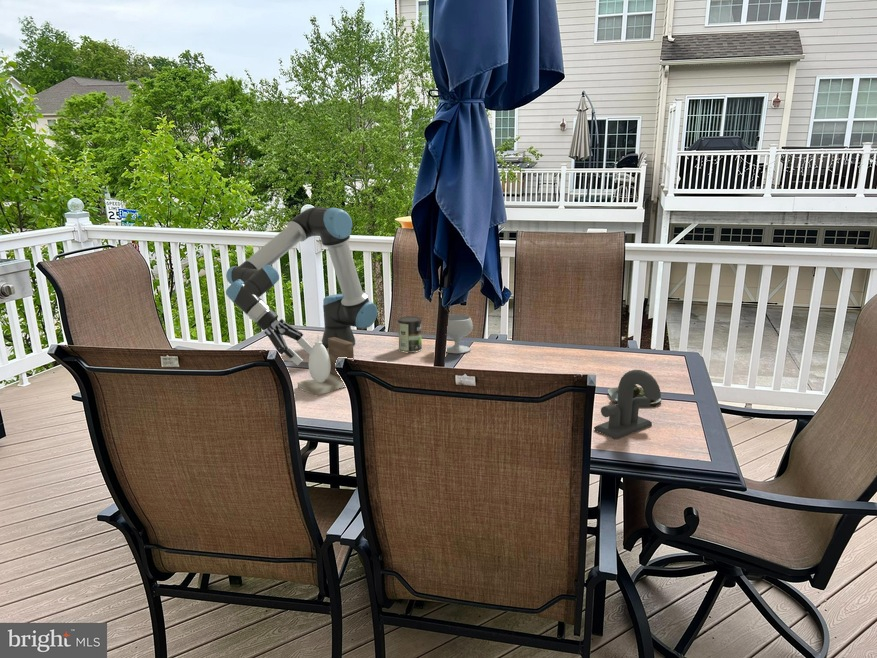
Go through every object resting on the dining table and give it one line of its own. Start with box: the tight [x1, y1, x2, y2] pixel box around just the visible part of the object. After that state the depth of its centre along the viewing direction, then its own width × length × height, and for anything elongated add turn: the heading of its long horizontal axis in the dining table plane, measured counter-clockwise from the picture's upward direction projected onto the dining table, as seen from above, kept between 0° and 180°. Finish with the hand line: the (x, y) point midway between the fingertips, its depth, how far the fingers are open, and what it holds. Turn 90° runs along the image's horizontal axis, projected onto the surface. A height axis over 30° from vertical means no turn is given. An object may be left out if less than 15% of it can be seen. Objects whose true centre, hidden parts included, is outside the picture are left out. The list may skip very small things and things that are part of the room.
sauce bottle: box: [308, 335, 331, 383], centre depth 224 cm, size 8×8×18 cm
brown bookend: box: [297, 337, 355, 396], centre depth 226 cm, size 17×12×16 cm
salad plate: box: [607, 384, 662, 408], centre depth 215 cm, size 19×18×5 cm
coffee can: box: [397, 315, 423, 353], centre depth 271 cm, size 10×10×14 cm
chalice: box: [446, 313, 474, 355], centre depth 269 cm, size 14×14×15 cm
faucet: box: [593, 369, 662, 440], centre depth 185 cm, size 18×16×20 cm
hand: (306, 357), depth 224 cm, fingers open, 13 cm apart
